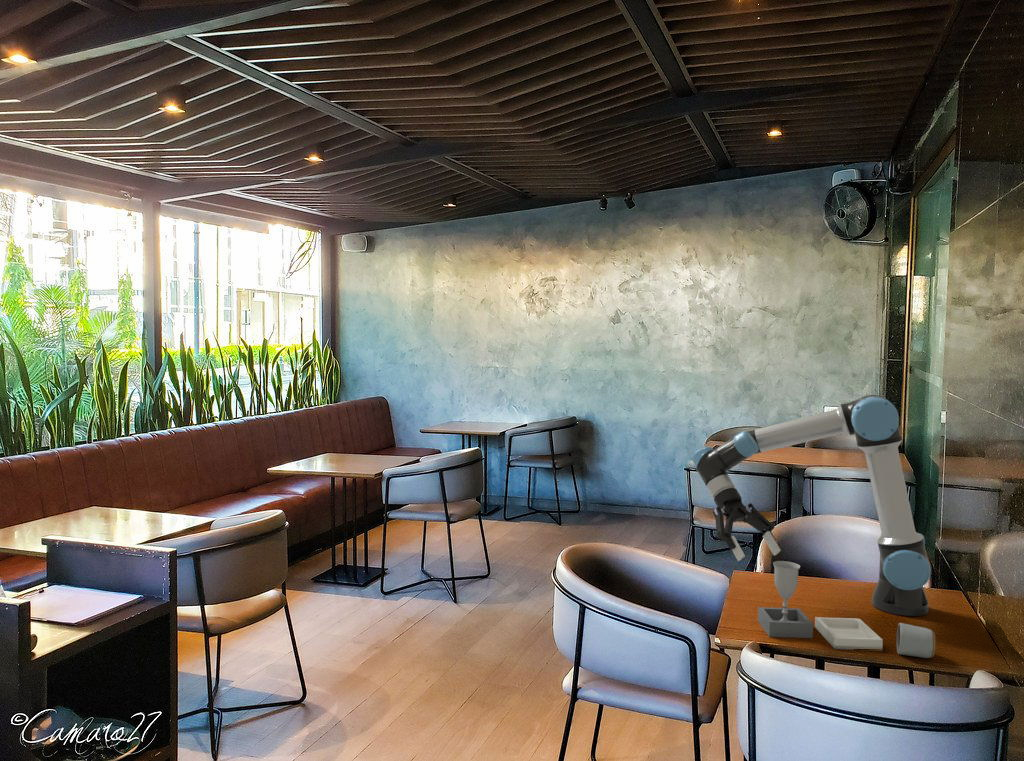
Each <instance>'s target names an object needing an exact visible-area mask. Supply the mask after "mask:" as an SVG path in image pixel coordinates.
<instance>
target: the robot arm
mask: <svg viewBox="0 0 1024 761" xmlns="http://www.w3.org/2000/svg"><path fill="white" fill-rule="evenodd" d="M842 434H846V435H847V436H852V435H854V436H855V440H856V444H857V445H856V446H857V448H859V449H860V450H862V451H863V452H864V454H865V461H866V465H867V468H868V469H867V470H868V474H869V479H870V484H871V487H872V488H871V490H872V493H873V499H874V503H875V508H876V513H877V517H878V521H879V527H880V531H881V533H880V537H878V539H877V545H878V550H879V572H878V573H879V574H878V581H877V583H876V585H875V588H874V589H873V593H872V596H871V605H872V606H873V607H874V608H876V609H878V610H880V611H883V612H885V613H889V614H893V615H898V616H904V617H905V616H908V617H918V616H919V617H920V616H925V615H928V614H929V601H928V597H927V594H926V591H925V589H924V586H925V585H926V584H927V583H928V581H929V580H930V578H931V574H932V567H931V564H930V562H929V560H928V555H927V552H926V545H925V544H926V542H925V536H924V535H923V534H922V533H919V532H917V531H916V528H915V523H914V517H913V513H912V509H911V508H912V507H911V504H910V500H909V495H908V490H907V486H906V481H905V475H904V470H903V466H902V461H901V456H900V453H899V446H900V445H901V443H903V438H902V434H901V428H900V417H899V413H898V410H897V408H896V406H895V405H894V404H893V403H892V402H891V401H890V400H888V399H887V398H886V397H883V396H881V395H878V394H869V395H865V396H863V397H860V398H857V399H855V400H852V401H849V402H846V403H842V404H840V405H839V406H838V407H837V408H836V409H832V410H828V411H827V410H826V411H824V412H820V413H815V414H813V415H812V414H811V415H807V416H804V417H800V418H795V419H792V420H788V421H787V420H786V421H784V422H780V423H776V424H771V425H768V426H763V427H760V428H756V429H751V430H742V431H740V432H737V433H735V434H734V435H732V437H731V438H730V439H728V440H727V441H725V442H724V443H723V444H721V445H719V446H718V447H717V448H713V447H712V446H704V447H703V448H699V449H697V451H695V452H694V454H692V459H691V460H692V462H693V464H694V467H695V469H696V472H697V474H699V476H700V478H701V480H702V481H703V483H704V484H705V486H706V489H707V491H708V493H710V496H711V498H712V499H713V501H714V503H715V506H716V508H715V509H714V510H713V511H712V512H713V515H714V519H715V530H716V538H717V539H718V540H721V542H723V543H725V542H726V545H727V546H728V548H729V549H730V550H731V551H732V552H733V555H734V557H735V559H736V560H737V562H740V561H742V559H743V558H745V556H746V555H745V553H744V551H743V549H742V548H741V546H740V544H739V542H738V541H737V539H736V537H735V535H732V532H733V527H734V526H733V525H734V523H737V522H738V523H739V522H743V523H744V524H745V523H746V524H748V525H750V526H751V527H752V528H754V529H756V530H757V531H758V532H760V533H761V534H763V535H762V538H763V540H764V541H765V542H766V545H767V546H768V548H769V549H770V551H771V553H772V555H773V556H777V555H778V554H779V553H780V552H781V551H782V550H781V549H780V547H779V545H778V543H777V540H776V538H775V535H774V534H773V533H772V531H773V530H774V529H775V525H773V524H772V523H771V522H770V520H768V519H767V517H765V516H764V515H762V513H760V511H758V510H757V509H756V508H755V505H753V503H751V502H749V503H748V504H747V505H745V504H743V501H742V499H743V498H742V496H741V495H740V492H739V491H738V488H736V486H735V484H734V483H733V481H732V478H731V477H730V475H729V473H728V471H729V470H731V469H732V468H734V467H736V466H737V465H739V464H741V463H742V462H744V461H745V460H747V459H748V458H751V457H752V456H754V455H758V454H760V453H764V452H768V451H774V450H778V449H781V448H786V447H790V446H795V445H798V444H804V443H808V442H812V441H816V440H821V439H824V438H829V437H833V436H839V435H842ZM724 517H725V520H724Z"/></svg>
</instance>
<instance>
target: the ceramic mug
mask: <svg viewBox="0 0 1024 761" xmlns="http://www.w3.org/2000/svg"><path fill="white" fill-rule="evenodd" d="M896 652H898V653H897V654H898V655H903V656H910V657H916V658H923V659H931V658H933V657H934V656H935V652H936V634H935V632H934V631H933V630H932V629H930V628H927V627H922V626H916V625H914V624H913V625H912V624H907V623H903V622H898V625H897V630H896Z"/></svg>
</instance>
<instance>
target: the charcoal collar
mask: <svg viewBox="0 0 1024 761" xmlns="http://www.w3.org/2000/svg"><path fill="white" fill-rule="evenodd" d="M782 611H783V607H763V606H762V607H761V606H758V607H757V622H758V623H759V625H760V626H761V627H762V629H763V630H764V631H765V633H766V634H767V635H768V637H771V638H772V637H773V638H796V639H797V638H798V639H799V638H801V639H813V637H814V636H813V635H814V623H813V622H812V620H811V619H810V618H809V617H808V616H807V615H806V614H805V613H804V612H803V611H802V609H801V608H796V607H794V608H793V607H791V608H790V607H787V611H788V612H789V613H788V614H787V619H788V620H789V621H779V620H781V619H782V618H783V613H782Z"/></svg>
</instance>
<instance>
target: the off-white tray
mask: <svg viewBox="0 0 1024 761" xmlns="http://www.w3.org/2000/svg"><path fill="white" fill-rule="evenodd" d="M814 628H815V629H816V630H817V632H819V633H820V634H821V636H822V637H823V638H824V639H825V640H826V641H827V643H828V644H830V645H831V647H833V648H834V650H854V649H882V650H883V645H884V644H883V643H884V640H883V638H882V637H880V636H879V635H878V634H877V633H876V632H875V631H874V630H873V629H871V627H869V625H868V624H866V623H865V622H864V621H863V620H862V619H860V618H856V617H855V618H852V617H851V618H850V617H847V618H845V617H821V616H818V617H817V616H815V617H814Z"/></svg>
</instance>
